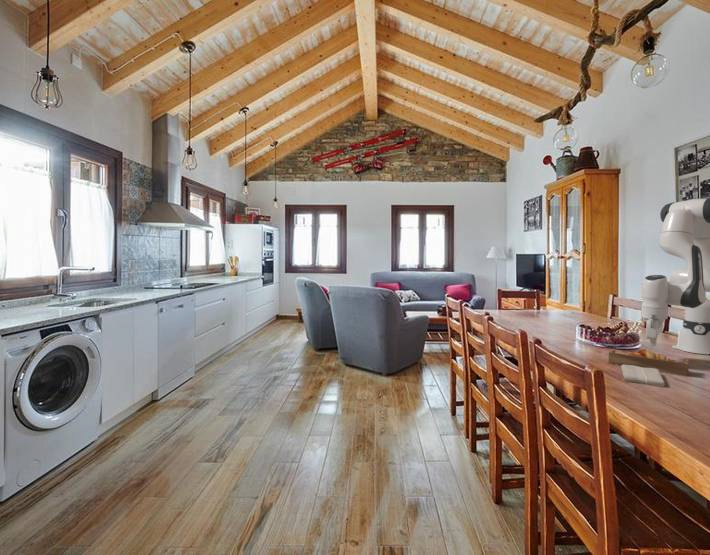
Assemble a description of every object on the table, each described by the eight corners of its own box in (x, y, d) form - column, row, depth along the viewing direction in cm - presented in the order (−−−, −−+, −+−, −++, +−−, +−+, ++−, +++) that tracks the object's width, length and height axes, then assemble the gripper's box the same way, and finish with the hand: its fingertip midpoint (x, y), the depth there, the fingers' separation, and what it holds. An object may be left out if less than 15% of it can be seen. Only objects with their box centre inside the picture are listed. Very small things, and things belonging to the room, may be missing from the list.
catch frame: (612, 359, 163) (612, 349, 163) (688, 371, 146) (688, 360, 146) (608, 363, 157) (608, 352, 157) (687, 376, 141) (687, 364, 140)
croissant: (681, 377, 150) (681, 357, 153) (687, 371, 143) (686, 351, 145) (616, 367, 162) (617, 349, 164) (618, 361, 154) (619, 342, 156)
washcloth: (658, 374, 144) (658, 366, 144) (666, 389, 128) (666, 380, 128) (619, 369, 150) (620, 362, 150) (623, 382, 135) (623, 374, 135)
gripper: (661, 318, 151) (660, 352, 152) (665, 311, 166) (664, 342, 167) (641, 316, 156) (641, 349, 157) (647, 309, 171) (646, 340, 172)
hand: (653, 345), depth 162 cm, fingers closed
